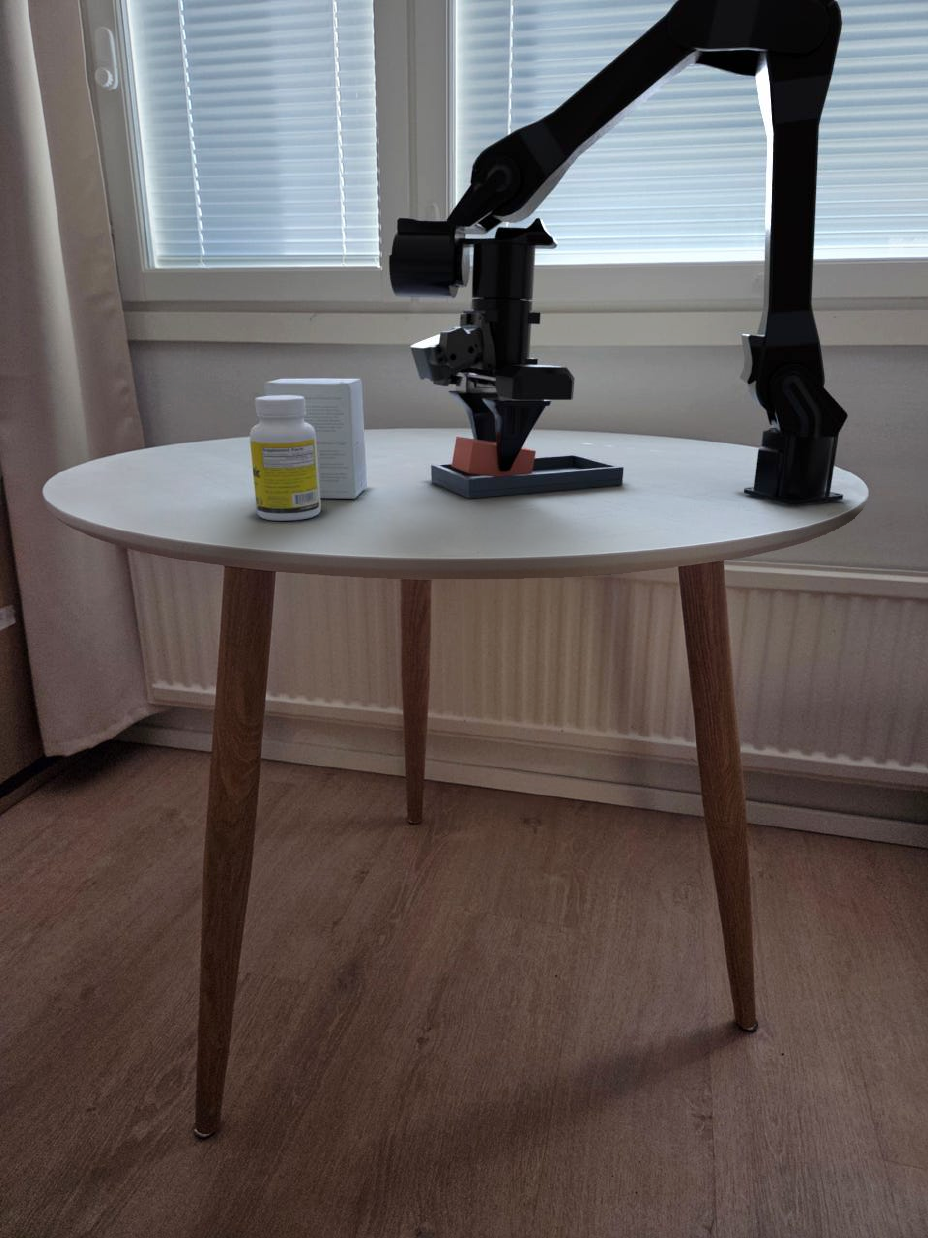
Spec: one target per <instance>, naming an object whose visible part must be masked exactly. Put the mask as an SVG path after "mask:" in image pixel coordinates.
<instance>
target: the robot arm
mask: <svg viewBox="0 0 928 1238" xmlns="http://www.w3.org/2000/svg"><path fill="white" fill-rule="evenodd" d="M842 27H843V18H842V9H841V7H840V5H839V2H838V1H837V0H676V1H675V2H674V4H672V6H671V8H670V9H669V10H668V11H667V13H666V14H665V15H664V16H663V17H662V18H660V19H659V20H658V21H657V22H656V23H654V24H653V25H652V26H651V27H650V28H648V30H646V31H645V32H644V33H643V34H642V35H640V36H639V37H638V38H637V39H636V40H635V41H634V42H632V43H631V44H630V45H629V46H628V47H627V48H626V49H624V50H623V51H622V52H621V53H619V55H617V56H616V57H615V58H614V59H613V60H612V61H611V62H609V63H608V64H607V65H606V66H605V67H603V68H602V69H601V70H600V71H599V72H597V74H595V75H594V76H593V77H592V78H591V79H590V80H588V81H587V82H586V83H585V84H584V85H582V87H580V88H579V89H578V90H577V91H576V92H575V93H573V94H572V95H571V96H570V97H568V99H567V100H566V101H564V102H563V103H562V104H561V105H559V106H558V107H557V108H556V109H555V110H554V111H552V112H549V114H547V115H545V116H544V117H542V118H540V119H538V120H536V121H533V122H531V123H529V124H527V125H524V126H522V127H520V128H517V129H516V130H514V131H513V132H511V133H509V134H507V135H505V136H504V137H502V138H501V139H499V140H497V141H496V142H494V143H492V144H491V145H488V146H487V147H486V148H485V149H483V150H482V151H481V152H480V153H479V155H477V157H476V158H475V160H474V162H473V164H472V168H471V175H470V183H469V184H470V185H469V187H468V188H467V189H466V191H465V192H464V194H462V196H461V198H460V199H459V201H458V202H457V204H456V205H455V207H454V208H453V209H452V211H451V212H450V213H449V215H448V217H447V218H446V220H419V219H415V218H413V217H399V218H398V219H397V220H396V232H395V235H394V237H393V240H392V246H391V253H389V255H388V270H389V280H390V285H391V289H392V292H393V294H394V296H396V297H402V298H403V297H404V298H437V299H455V298H456V297H457V295H458V292H459V288H467V286H468V284H469V280H470V274H471V273H470V270H471V253H470V251H471V248H472V271H471V272H472V277H471V305H470V306H471V307H470V309H463V312H462V313H461V314H460V317H459V326H454V327H453V326H452V328H451V329H450V330H442V331H440V333H439V334H436V335H434V336H431V337H429V338H426V339H423V340H421V341H418V342H416V343H413V344H411V345H410V346H409V348H410V351H411V354H412V358H413V361H414V364H415V367H416V371H417V373H418V377H419V380H421V381H423V380H429V381H430V382H431V383H433V385H435V386H441V387H449V386H450V385H455V390H448V394H449V396H451V397H453V398H454V399H455V400H456V401H457V402H458V403H459V404H460V405H461V406H462V407H463V408H464V409H465V412H466V415H467V418H468V422H469V425H470V430H471V435H472V439H476V440H482V441H489V442H496V447H497V460H498V468H499V470H500V471H509V470H510V469H511V467H512V465H513V464H514V462H515V460H516V458H517V456H518V454H519V452H520V450H521V448H522V447H523V448H524V445H525V443H526V441H527V439H528V437H529V436H530V433H531V432H532V430H533V428H534V427H535V425H536V424H537V422H538V420H539V419H540V417H541V415H542V414H543V412H544V410H545V409H546V407H550V406H551V403H552V401H572V400H574V392H575V376H574V374H573V373H572V372H571V371H570V370H569V369H568V367H566V366H558V365H549V364H538V362H539V361H538V360H539V359H538V358H533V357H530V355H531V353H530V351H531V333H532V325H540V324H541V312H536V311H535V312H533V297H534V284H535V283H534V281H535V266H536V265H535V263H536V250H538V249H539V250H554V249H556V248H557V247H558V241H557V240H556V239H555V238H554V237H553V236H552V235H551V234H550V232H548V230H547V228H546V226H545V223H544V221H543V220H542V219H541V218H540V217H536V218H535V219H534V220H533V222H532V223H531V224H530V225H529V226H526V227H520V226H519V227H518V226H517V227H515V226H514V227H513V226H500V225H501V224H502V223H503V222H504V223H511V224H512V223H513V224H516V223H519V222H522V221H524V220H526V219H527V218H529V217H530V216H532V214H534V212H535V211H536V210H537V209H538V208H539V206H540V205H542V203H543V202H544V201H545V199H547V197H548V196H549V195H550V194H551V193H552V191H554V189H555V188H556V187H557V185H559V182H561V180H562V179H563V177H564V176H565V174H566V173H567V172H568V170H570V168H571V167H572V165H573V164H574V163H575V162H576V161H577V160H578V158H579V157H580V156H581V155H582V154H583V153H585V152H586V151H587V150H588V149H590V148H591V147H592V146H593V145H594V144H596V143H597V142H598V141H599V140H600V139H602V138H603V137H604V136H606V134H608V133H609V132H610V131H611V130H613V129H614V128H615V127H616V126H617V125H619V124H620V123H621V122H622V121H623V120H625V119H626V118H627V117H629V115H630V114H632V113H633V112H634V111H635V110H637V109H638V108H639V107H641V105H643V104H644V103H645V102H646V101H647V100H649V99H650V98H651V97H652V96H654V95H655V94H656V93H657V92H658V91H659V90H661V89H662V88H664V86H666V85H667V84H668V83H669V82H671V81H672V80H673V79H674V78H675V77H677V76H678V75H679V74H681V72H682V71H684V70H685V69H686V68H688V67H689V66H691V65H693V66H701V67H707V68H709V69H713V70H717V71H720V72H724V73H726V74H731V75H734V76H738V77H745V78H746V77H747V78H753V79H754V78H755V81H756V88H757V95H758V102H759V107H760V112H761V115H762V120H763V124H764V128H765V133H766V140H767V147H766V148H767V149H766V151H767V152H766V153H767V154H766V189H765V190H766V191H765V192H766V193H765V225H764V226H765V228H764V231H765V232H764V267H763V268H764V269H763V270H764V271H763V274H764V275H763V276H764V277H763V305H762V306H763V307H762V313H761V317H760V321H759V325H758V328H757V333H756V334H752V333H751V334H749V333H743V334H742V335H741V344H742V350H743V357H744V363H743V369H742V371H741V372H740V373H741V374H740V376H739V379H740V380H742V381H743V382H744V383H746V384H747V388H748V393H749V395H750V397H751V398H752V400H753V401H754V402H755V403H756V404H757V405H759V406H760V407H761V408H762V409H763V410H765V414H766V418H767V421H768V424H769V425H770V426H772V427H770V428H768V429H763V430H762V435H761V436H762V437H761V444H760V446H759V447H758V449H757V457H756V465H755V473H754V482H753V486H750V487H744V488H743V493H744V494H746V495H750V496H753V497H758V498H761V499H766V500H770V501H773V502H777V503H782V504H785V505H789V506H798V505H806V504H809V505H810V504H817V503H825V502H836V501H843V500H844V494H843V493H839V492H835V491H834V492H833V491H832V489H831V488H832V483H833V476H834V469H835V464H836V463H835V462H836V456H837V450H838V442H839V436H840V432H841V430H842V428H843V426H844V425H845V423H846V421H847V419H848V417H849V415H848V412H847V411H846V410H845V409H844V408H843V407H842V405H840V404H839V402H838V401H837V400H836V399H835V398H834V397H833V395H832V394H831V393H830V392H829V391H828V390H827V389H826V388H825V384H826V377H825V376H826V375H825V368H824V361H823V354H822V346H821V339H820V336H819V332H818V327H817V323H816V320H815V319H816V318H815V315H814V310H813V303H812V302H813V278H814V277H813V276H814V258H815V257H814V256H815V255H814V254H815V253H814V252H815V251H814V250H815V234H816V233H815V230H816V209H817V208H816V207H817V185H818V184H817V183H818V182H817V181H818V161H819V137H820V136H819V135H820V122H821V118H822V114H823V111H824V107H825V104H826V99H827V96H828V92H829V89H830V84H831V81H832V77H833V74H834V73H833V72H834V68H835V63H836V58H837V53H838V49H839V44H840V39H841V33H842ZM498 226H499V227H498ZM495 228H496V230H495V234H494V237H484V238H483V237H482V238H481V237H480V238H478V237H477V238H476V237H475V238H474V237H473V238H471V237H467V236H466V235H481V236H482V235H483V236H484V235H487V234H488V233H490V232H491V231H493V230H494V229H495Z"/></svg>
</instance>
